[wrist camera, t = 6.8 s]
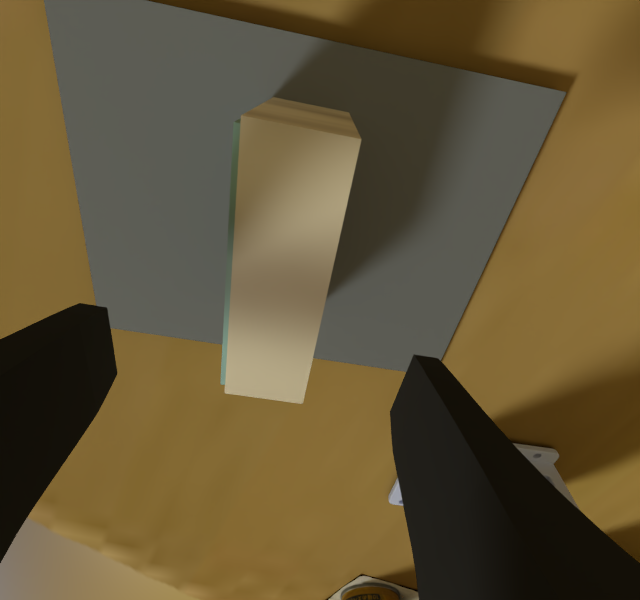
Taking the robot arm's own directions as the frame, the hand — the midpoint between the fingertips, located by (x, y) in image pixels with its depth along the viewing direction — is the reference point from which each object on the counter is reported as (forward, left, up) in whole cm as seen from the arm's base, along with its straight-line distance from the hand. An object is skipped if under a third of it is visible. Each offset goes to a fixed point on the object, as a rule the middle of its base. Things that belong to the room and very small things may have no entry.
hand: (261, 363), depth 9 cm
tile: (0, -1, -8) cm, 9 cm away
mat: (0, 0, -9) cm, 9 cm away
